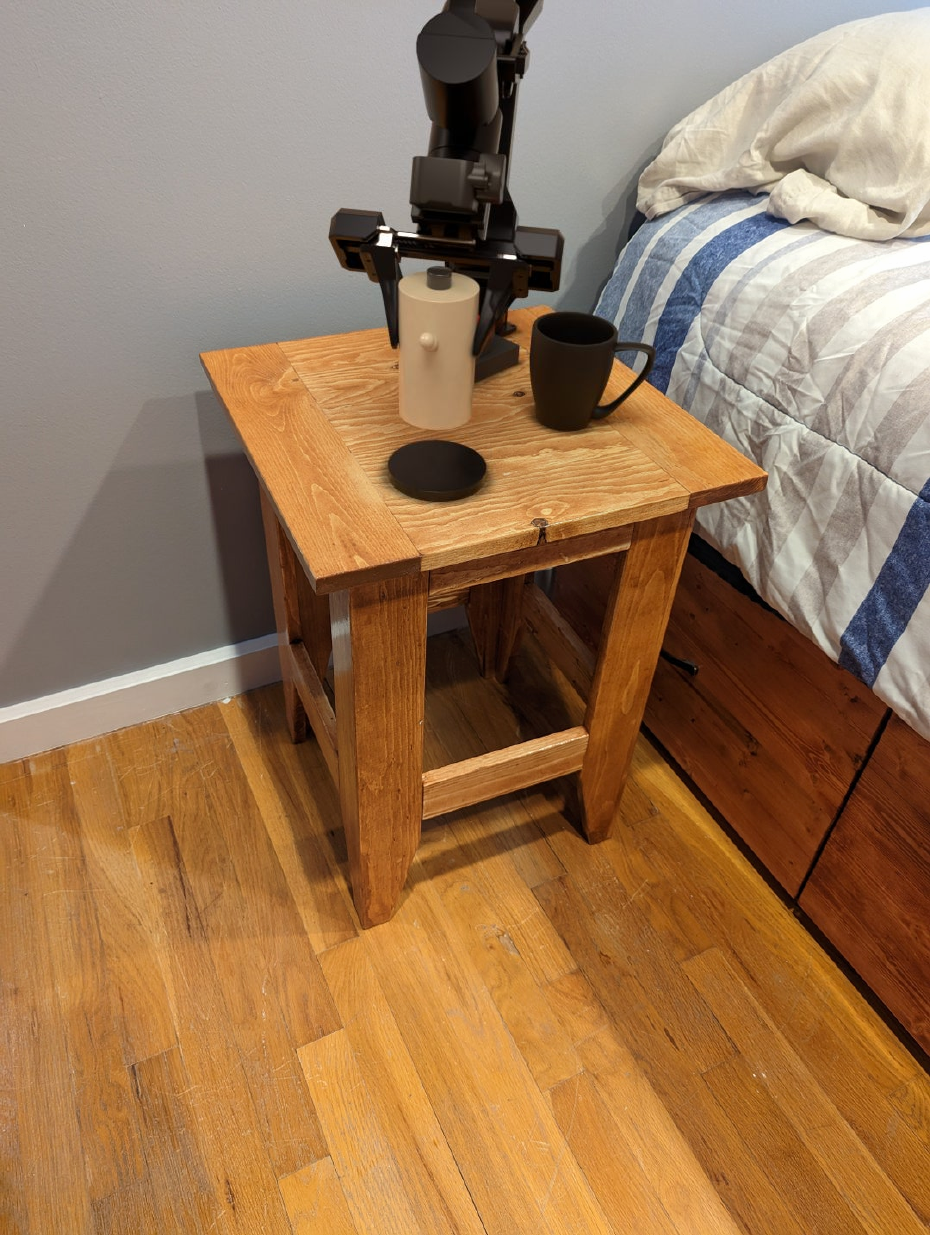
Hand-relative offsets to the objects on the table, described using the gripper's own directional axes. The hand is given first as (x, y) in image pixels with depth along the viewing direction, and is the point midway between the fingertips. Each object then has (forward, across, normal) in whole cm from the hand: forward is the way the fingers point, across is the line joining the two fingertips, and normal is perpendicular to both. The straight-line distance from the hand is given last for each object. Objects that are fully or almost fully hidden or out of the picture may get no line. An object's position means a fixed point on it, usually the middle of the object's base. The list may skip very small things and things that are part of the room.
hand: (434, 352), depth 70 cm
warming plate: (+8, 0, +10) cm, 12 cm away
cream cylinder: (+4, 0, +4) cm, 6 cm away
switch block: (-8, -1, +26) cm, 27 cm away
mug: (-1, +13, +19) cm, 23 cm away
